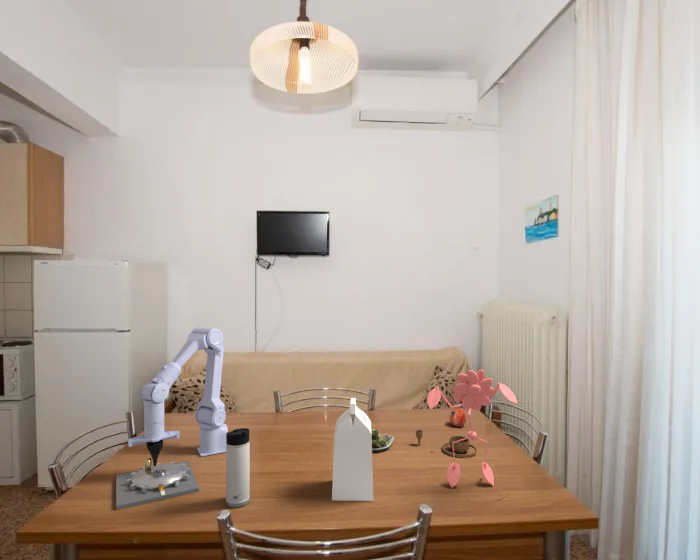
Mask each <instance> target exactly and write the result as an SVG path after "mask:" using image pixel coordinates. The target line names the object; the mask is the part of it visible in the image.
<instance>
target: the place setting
mask: <svg viewBox="0 0 700 560" xmlns="http://www.w3.org/2000/svg"><path fill="white" fill-rule="evenodd" d="M423 435H424V434H423V429H422V430H421V429H416V430H415V437H416V439H417V446H418V447H421V439H422V438H423ZM464 438H467V437H466V436H462V435H453V436H450V437H449V441H448V442H445V443H444V444H442V446H441V447H442V448H441V449H442V451H443V452H444V454H446V455H447V456H450V455H452V456H451V457H453V452H450V451H448V450H446V448H447V447H446V446H449V445H450V446H449V447H450V449H452V451H453V447H452V443H453V442H455V441H458V440H461V439H464ZM470 441H471V440H469V438H468V439H465V440H462V441H459V442H456V443H453V444H454V451H455V452H454V456H456V457H455V458H459V457H468V458H470V457H469V456H472V457H474V456H475V455H476V454H477V452H478V449H477V446H475V447H474V445H473V444H471V443H470ZM445 447H446V448H445ZM469 447H472V448H474V449H475V452H474V451H473V452H472V453H468V454H466V452H467V451H469V449H470V448H469ZM444 448H445V449H444ZM456 452H458V453H456ZM462 452H465V453H462ZM430 453H434V451H432V450H431V451H430ZM473 455H474V456H473Z"/></svg>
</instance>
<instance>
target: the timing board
mask: <svg viewBox="0 0 700 560" xmlns="http://www.w3.org/2000/svg"><path fill="white" fill-rule="evenodd" d="M183 463H185V464H186V468H191V473H187V474H189V478H188V479H187V480H182V481H180V482H179V485H178V486H173V485H172V486H169V487H166V488H163V491H159V489H157V490H148V491H147V492H142V490H141V489H135V490H130V485H131V484H129V485H127V479H131V478H130V474H131V473H132V472H138V471H140V470H141V469H139V470H133V471H129V472H123V473H118V474H115V476H116V477H115V481H116V482H115V485H116V486H115V487H116V488H115V491H116V492H115V494H116V497H115V498H116V499H115V501H116V502H115V510H116V511H118V510H122V509H126V508H131V507H135V506H140V505H144V504H150V503H153V502H158V501H162V500H166V499H171V498H176V497H180V496H184V495H189V494H192V493H198V492H200V487H199V485H198V482H197V480H196V477H195V474H194V472H193V470H192V466H191V464H190V461H189V460H187V461H181V462H177V463H176V462H175V464H183Z"/></svg>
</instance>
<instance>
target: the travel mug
mask: <svg viewBox="0 0 700 560" xmlns="http://www.w3.org/2000/svg"><path fill="white" fill-rule="evenodd" d="M250 448H251V447H250V428H246V427H245V428H244V427H243V428H241V427H240V428H236V429H232V430H231V431H228V432H227V433H226V452H225V502H226V506H228V507H230V508H236V509H237V508H242V507H244V506H247V505H248V504H249V502H250V500H251V496H250V494H251V492H250V491H251V490H250V485H251V484H250V483H251V482H250V477H251V476H250V474H251V473H250V472H251V471H250V468H251V467H250V466H251V465H250V464H251V463H250V461H251V460H250V456H251V455H250V453H251V451H250Z"/></svg>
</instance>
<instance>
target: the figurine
mask: <svg viewBox="0 0 700 560" xmlns="http://www.w3.org/2000/svg"><path fill="white" fill-rule="evenodd" d="M466 373H467V374H466ZM466 373H459V374H457V376H456V379H457V381H458V382H459V383H456V385H454V386H453V387H452V391H453V392H454V396H453V402H455V403H460V402H461V404H456V405H453V406H452V404H451V403H450V402H449V401H448V399H447V398H446V397H445V396H444V394H443V392H441V390H440V389H439V386H436V387H435V388H432V389H431V391H429V393H428V395H427V399H426V401H427V402H426V403H427V405H428V408H429V410H432V409H433V408H435V407H436V406H437V405H438V404H439V402H440V400H441V398H443V399H444V401H445V402H446V404H448V405H447V406H449V407H450V408H451V409H452V410H453V409H457V408H460V407H462V410H463V411H464V412H468V413H467V417H468V418H467V419H468V422H469V426H470V431H468V432H467V437H466V438H464V439H461V440H458V441H455V442H453V443H456V442H459V441H462V440H465V439H469V440H470V441H475V440H477V439H478V440H479V441H482V442H484V443H485V455H484V456H485V457H484V461H483V462H481V464H480V465H481V466H480V467H481V475H480V479H481V478H485V481H487V482H488V484H490V485H491V486H493V487H494V485H495V484H494V483H495V477H494V471H493V470H492V468H491V466H490V465H489V464H488V463H487V453H488V441H487V440H485V439H482V438H480V437H478V434H477V432H476V431H474V429H473V424H472V418H471V410H474V411H475V412H479V411H481V409H482V406H484V407H485V406H487V407H490V405H491V403H492V401H493V398H494V396H495V394H496V393H497V391H498V390H499V391H500V393H501V395H502V396H503V397H504V398H505V399H506V400H508V401H509V402H510V403H513V404H515V405H518V400H517V398H516V395H515V393H514V392H513V391H512V390H511V389H510V387H508V386H507V385H505V384H504V383H501V382H498V383H497V385H496V387H495V388H494V387H491V386H492V384H493V378H491V377H489V378H486V374H485V371H484V370H483V369H478V371H477V372H475V371H474V370H470V369H469V370H468V371H467V372H466ZM489 397H490V398H489ZM471 408H472V409H471ZM453 443H452V447H453V450H452V453H453V456H452V457H453V462H451V463H450V465H449V466H448V469H447V472H446V476H447V477H446V478H447V480H448V483H449V486H450V487H451V488H454V487H455V486H456V484H457V483H458V482H459V481H460V479H461V468H460V465H459V464H458V463H457V462H456V457H455V456H454V454H455V452H454V444H453ZM507 497H508V495H506V496H505V497H503V498H500V499H497V500H496V502H497V501H501V500H505V499H507ZM465 500H466V499H465ZM466 501H467V502H469V500H466ZM473 501H474V500H473ZM492 501H493V500H492ZM492 501H490V503H493V502H492ZM473 503H476V501H474V502H473Z"/></svg>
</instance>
